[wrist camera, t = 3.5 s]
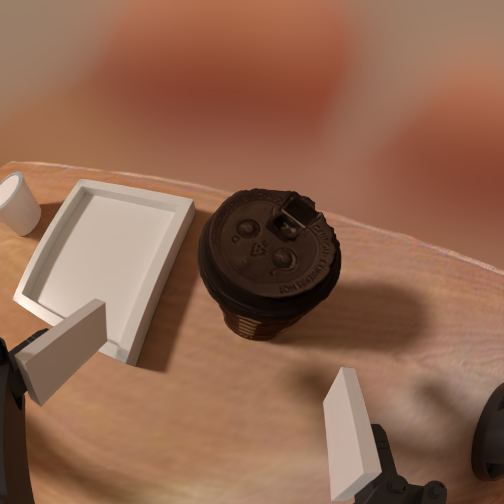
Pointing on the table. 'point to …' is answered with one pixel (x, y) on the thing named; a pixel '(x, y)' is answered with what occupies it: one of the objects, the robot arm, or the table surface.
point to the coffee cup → (267, 260)
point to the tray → (107, 259)
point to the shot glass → (18, 205)
